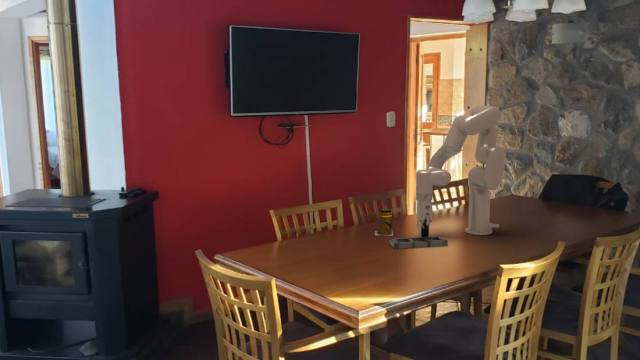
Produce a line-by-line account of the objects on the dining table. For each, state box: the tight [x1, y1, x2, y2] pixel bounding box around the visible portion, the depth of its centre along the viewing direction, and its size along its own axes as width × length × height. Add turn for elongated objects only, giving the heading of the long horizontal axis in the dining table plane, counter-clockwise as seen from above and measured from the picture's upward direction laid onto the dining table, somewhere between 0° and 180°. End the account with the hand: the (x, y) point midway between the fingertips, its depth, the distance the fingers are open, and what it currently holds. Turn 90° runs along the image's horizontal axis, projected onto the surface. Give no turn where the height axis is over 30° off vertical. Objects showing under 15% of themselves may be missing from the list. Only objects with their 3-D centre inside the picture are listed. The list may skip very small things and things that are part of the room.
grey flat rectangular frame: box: [389, 235, 448, 250], centre depth 251 cm, size 24×8×2 cm, turn 98°
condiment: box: [374, 208, 394, 237], centre depth 270 cm, size 7×8×12 cm
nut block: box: [417, 219, 426, 237], centre depth 262 cm, size 4×4×8 cm
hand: (423, 235), depth 262 cm, fingers closed on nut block, 4 cm apart
